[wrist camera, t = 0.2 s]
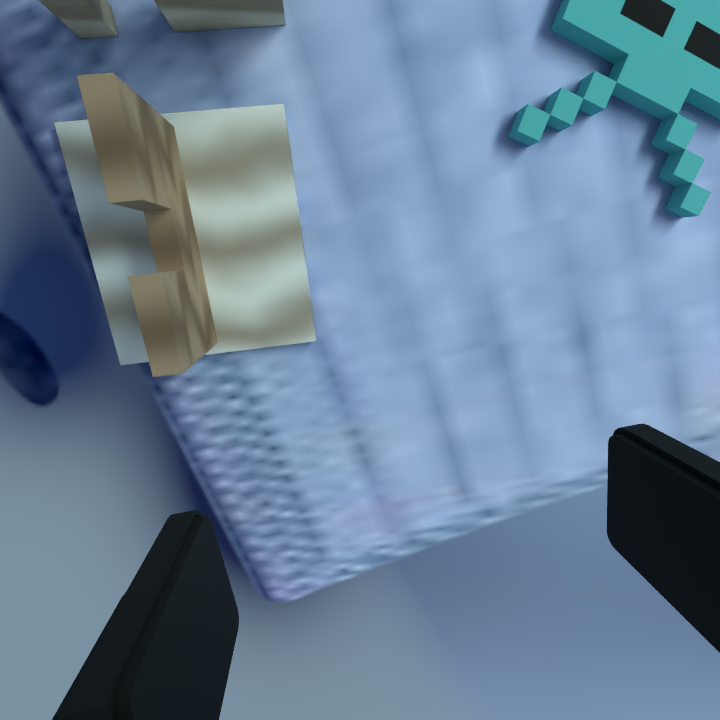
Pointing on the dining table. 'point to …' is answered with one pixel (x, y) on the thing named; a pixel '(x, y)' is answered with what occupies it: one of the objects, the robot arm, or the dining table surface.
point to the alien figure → (642, 77)
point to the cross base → (223, 225)
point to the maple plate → (170, 15)
